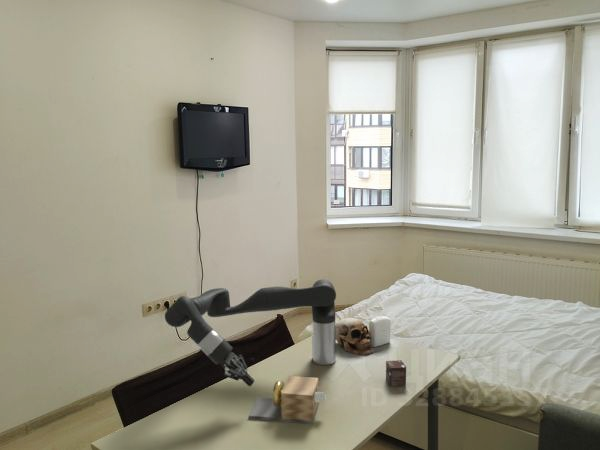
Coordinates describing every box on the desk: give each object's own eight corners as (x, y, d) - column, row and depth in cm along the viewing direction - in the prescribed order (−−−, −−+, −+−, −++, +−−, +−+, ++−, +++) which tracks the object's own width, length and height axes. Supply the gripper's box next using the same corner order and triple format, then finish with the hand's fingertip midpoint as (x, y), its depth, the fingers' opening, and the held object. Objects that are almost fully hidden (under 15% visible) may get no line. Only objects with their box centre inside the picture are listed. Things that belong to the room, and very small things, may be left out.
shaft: (273, 411, 154) (272, 387, 153) (278, 398, 162) (278, 376, 161) (323, 415, 151) (323, 391, 150) (326, 402, 159) (326, 379, 158)
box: (385, 379, 179) (385, 360, 178) (401, 378, 179) (401, 359, 178) (389, 387, 173) (390, 367, 172) (406, 386, 173) (406, 366, 172)
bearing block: (248, 418, 154) (247, 390, 153) (258, 399, 166) (257, 373, 164) (313, 423, 150) (312, 395, 149) (318, 404, 162) (318, 377, 160)
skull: (372, 355, 200) (368, 324, 199) (331, 356, 205) (328, 325, 203) (376, 342, 215) (373, 313, 214) (338, 343, 220) (335, 314, 218)
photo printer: (373, 348, 208) (374, 320, 206) (367, 344, 211) (367, 317, 210) (391, 342, 213) (392, 316, 211) (385, 339, 217) (385, 313, 215)
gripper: (215, 346, 166) (250, 381, 166) (200, 362, 153) (238, 400, 153) (229, 332, 164) (265, 368, 164) (214, 347, 152) (253, 386, 151)
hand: (252, 383), depth 158 cm, fingers closed
